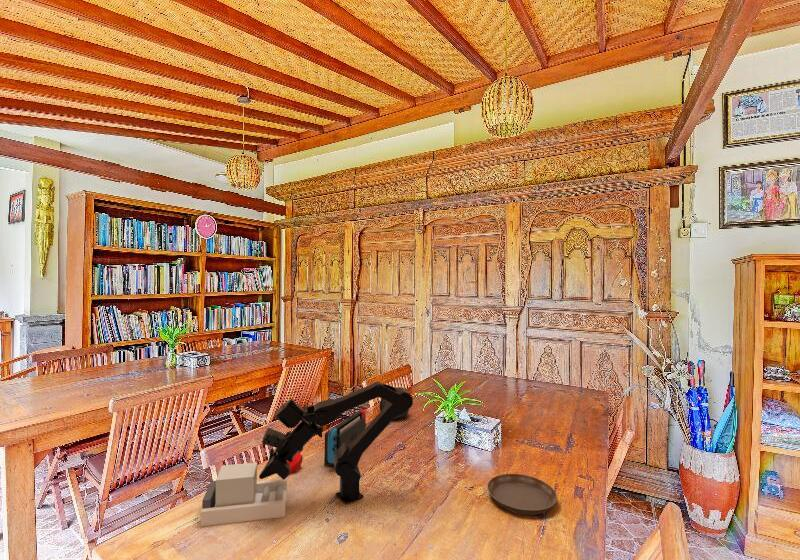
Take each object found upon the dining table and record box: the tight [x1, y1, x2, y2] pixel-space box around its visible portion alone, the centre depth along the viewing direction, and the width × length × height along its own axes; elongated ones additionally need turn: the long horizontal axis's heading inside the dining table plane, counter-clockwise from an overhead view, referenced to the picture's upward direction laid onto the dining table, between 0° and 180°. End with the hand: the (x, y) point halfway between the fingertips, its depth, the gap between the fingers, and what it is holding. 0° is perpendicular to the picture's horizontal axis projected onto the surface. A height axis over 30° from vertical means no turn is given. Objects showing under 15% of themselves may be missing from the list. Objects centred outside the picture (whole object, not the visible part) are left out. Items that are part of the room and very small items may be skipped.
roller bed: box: [200, 478, 288, 527], centre depth 119 cm, size 22×14×4 cm, turn 103°
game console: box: [323, 408, 367, 468], centre depth 154 cm, size 28×6×15 cm, turn 159°
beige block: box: [215, 462, 258, 507], centre depth 118 cm, size 10×9×8 cm
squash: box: [379, 398, 410, 421], centre depth 199 cm, size 14×15×15 cm
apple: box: [287, 451, 304, 474], centre depth 143 cm, size 7×7×8 cm
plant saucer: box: [486, 473, 558, 516], centre depth 126 cm, size 21×21×3 cm
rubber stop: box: [201, 480, 216, 510], centre depth 117 cm, size 2×11×5 cm, turn 13°
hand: (260, 477), depth 120 cm, fingers closed
